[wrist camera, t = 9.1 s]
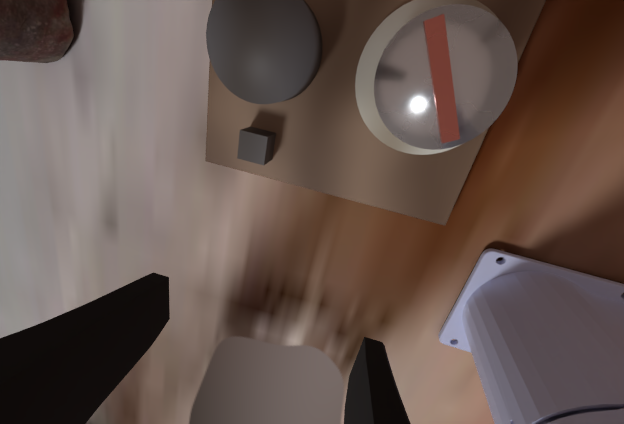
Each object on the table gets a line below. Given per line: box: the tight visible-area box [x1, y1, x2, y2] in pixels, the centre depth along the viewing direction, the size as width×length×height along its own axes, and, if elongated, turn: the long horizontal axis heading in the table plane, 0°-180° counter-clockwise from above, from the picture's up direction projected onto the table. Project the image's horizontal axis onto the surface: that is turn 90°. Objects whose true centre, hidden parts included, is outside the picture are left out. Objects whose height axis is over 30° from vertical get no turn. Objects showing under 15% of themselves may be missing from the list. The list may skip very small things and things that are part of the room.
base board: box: [206, 0, 546, 225], centre depth 15 cm, size 15×14×3 cm
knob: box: [374, 4, 518, 150], centre depth 12 cm, size 5×5×5 cm
